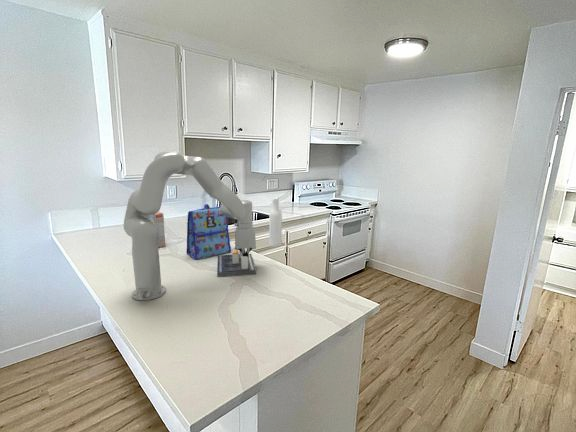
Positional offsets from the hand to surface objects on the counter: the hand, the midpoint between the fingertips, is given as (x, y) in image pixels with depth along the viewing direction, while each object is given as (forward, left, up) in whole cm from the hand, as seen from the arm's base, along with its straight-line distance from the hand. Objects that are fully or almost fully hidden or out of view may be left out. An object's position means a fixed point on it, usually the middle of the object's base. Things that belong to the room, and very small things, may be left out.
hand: (245, 260), depth 155 cm
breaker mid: (0, +5, -1) cm, 5 cm away
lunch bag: (+23, +19, -3) cm, 30 cm away
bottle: (+31, -21, -3) cm, 38 cm away
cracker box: (+45, +51, -3) cm, 68 cm away
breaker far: (+8, +1, -1) cm, 8 cm away
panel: (0, +5, -3) cm, 6 cm away
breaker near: (-8, +1, -1) cm, 8 cm away
